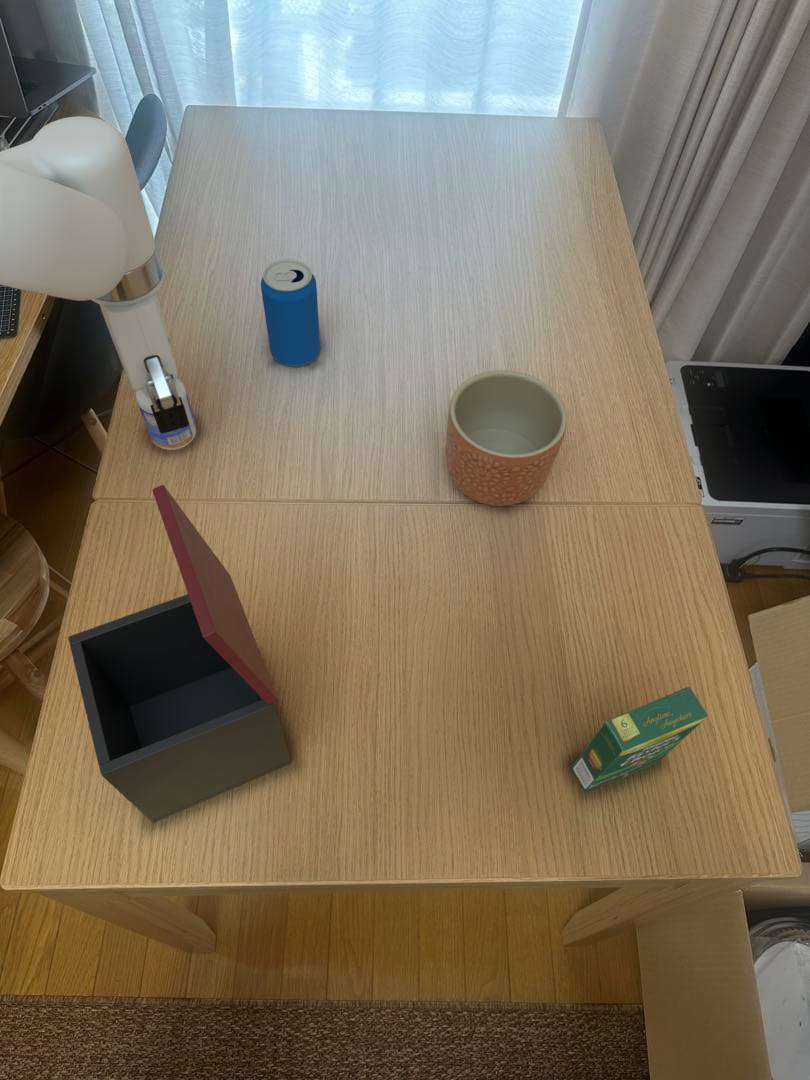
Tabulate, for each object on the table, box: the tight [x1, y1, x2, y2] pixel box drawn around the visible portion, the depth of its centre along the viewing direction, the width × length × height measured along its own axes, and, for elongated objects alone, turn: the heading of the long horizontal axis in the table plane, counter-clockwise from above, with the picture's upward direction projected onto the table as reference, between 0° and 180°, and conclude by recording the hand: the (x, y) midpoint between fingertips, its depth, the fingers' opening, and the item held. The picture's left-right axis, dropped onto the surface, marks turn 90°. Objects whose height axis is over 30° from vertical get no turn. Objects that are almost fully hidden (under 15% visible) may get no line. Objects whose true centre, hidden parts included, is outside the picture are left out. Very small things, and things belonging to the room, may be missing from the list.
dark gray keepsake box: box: [68, 593, 292, 824], centre depth 62 cm, size 13×12×15 cm
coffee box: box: [571, 686, 708, 794], centre depth 62 cm, size 8×3×13 cm, turn 111°
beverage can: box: [260, 258, 322, 367], centre depth 91 cm, size 6×6×12 cm
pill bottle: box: [135, 369, 197, 451], centre depth 83 cm, size 5×5×10 cm
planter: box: [444, 369, 568, 507], centre depth 81 cm, size 12×12×11 cm
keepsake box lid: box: [152, 484, 279, 704], centre depth 51 cm, size 14×12×1 cm
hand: (162, 398), depth 83 cm, fingers open, 9 cm apart
